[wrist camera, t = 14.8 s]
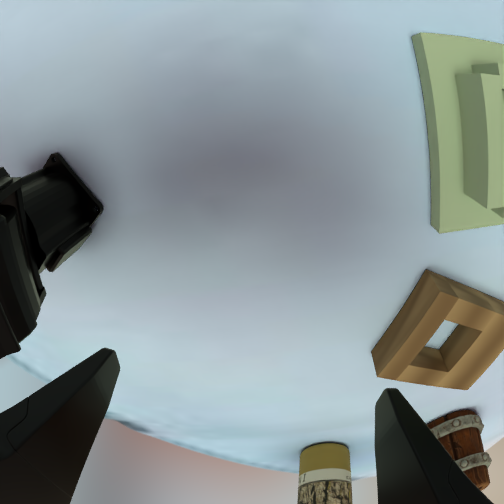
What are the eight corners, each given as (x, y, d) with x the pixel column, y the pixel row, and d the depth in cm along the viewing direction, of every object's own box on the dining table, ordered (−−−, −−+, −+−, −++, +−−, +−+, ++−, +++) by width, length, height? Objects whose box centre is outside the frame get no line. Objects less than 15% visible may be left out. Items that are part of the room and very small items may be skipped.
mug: (457, 445, 33) (461, 522, 20) (383, 442, 36) (375, 529, 24) (497, 403, 28) (513, 492, 15) (416, 399, 31) (419, 505, 18)
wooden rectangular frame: (371, 351, 25) (377, 376, 22) (425, 269, 20) (440, 291, 18) (458, 369, 25) (467, 390, 23) (509, 304, 21) (523, 323, 18)
